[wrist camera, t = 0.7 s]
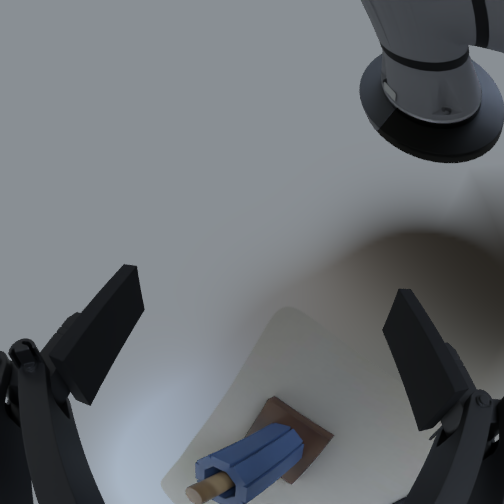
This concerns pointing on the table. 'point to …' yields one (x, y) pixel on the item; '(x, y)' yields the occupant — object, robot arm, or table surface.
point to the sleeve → (253, 462)
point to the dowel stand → (271, 413)
